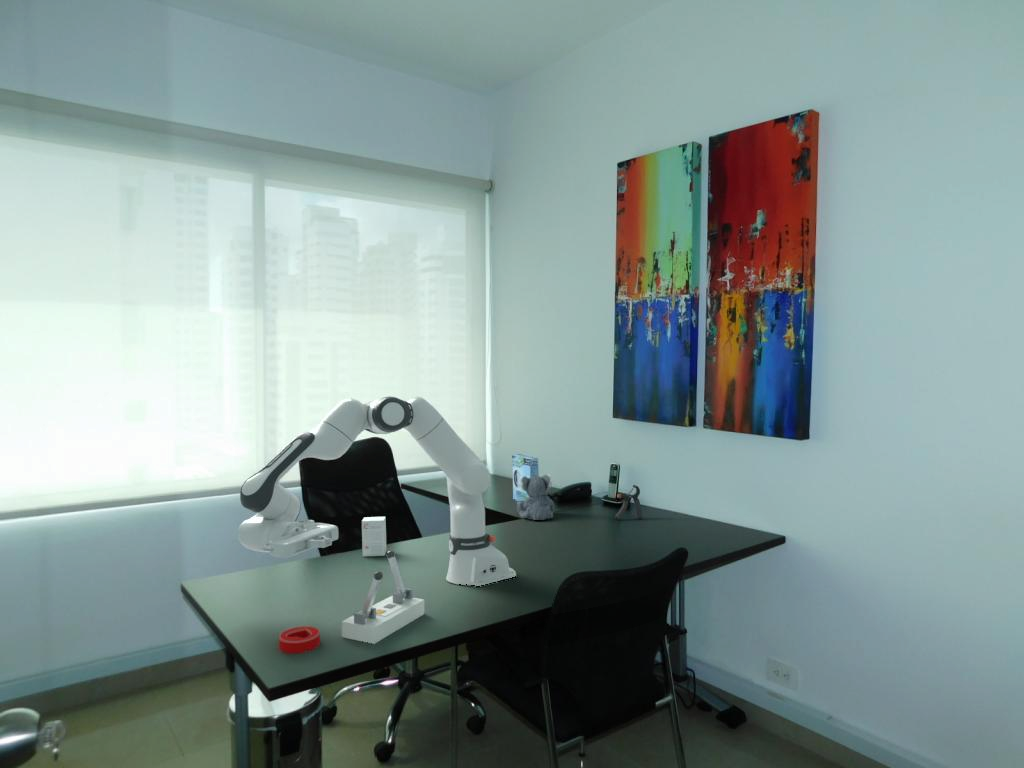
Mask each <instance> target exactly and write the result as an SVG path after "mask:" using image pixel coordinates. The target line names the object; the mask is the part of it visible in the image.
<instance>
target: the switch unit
mask: <svg viewBox="0 0 1024 768" xmlns="http://www.w3.org/2000/svg"><path fill="white" fill-rule="evenodd" d="M404 588H405V590H407V591H408V592H409V596H408V597H406V598H404V599H403V594H400V593H398V592H393V593H392V595H390V596H389V597H386V598H385V599H382V600H381V601H379V602H377V603H375V604H373V605H372V608H371V611H372V615H371V616H370V617H368V618H366V619H365V614H363V613H360V612H362V611H363V610H361V611H359V612H358V611H355V612H354V613H353V615H351V616H349V617H347V618H346V619H344V620H342V621H341V637H342V638H345V639H349V640H353V641H359V642H362V641H363V643H367V642H368V643H367V644H371V643H372V645H375V644H377V643H378V642H380V641H382V640H383V639H385V638H386V637H389V636H390V635H392V634H393V633H395V632H397V631H398V630H401V629H402V628H403V627H405V626H407V625H409V624H410V623H411V622H414V621H416V620H417V619H418V618H420V617H422V616H424V615H425V599H424V598H423V599H422V598H419V597H418V598H417V597H413V588H409V587H408V588H407V587H404Z"/></svg>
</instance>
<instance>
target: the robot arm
mask: <svg viewBox="0 0 1024 768" xmlns="http://www.w3.org/2000/svg"><path fill="white" fill-rule="evenodd" d="M401 429H405V430H406V431H407V432H408V433H409V434H410V436H412V438H413V439H414V440H415V441H416V443H417V444H418V445H419V446H420V447H421V448H422V450H423V451H424V452H425V453H426V455H428V456H429V458H430V459H431V460H432V461H433V463H435V465H436V466H438V467H439V469H441V471H442V472H443V473H444V474H445V477H446V486H447V487H446V488H447V496H448V503H449V511H450V512H449V513H450V518H449V519H450V534H449V535H448V536H449V538H448V539H449V541H448V550H449V553H450V555H449V563H448V570H447V574H446V577H445V580H446V581H447V582H448V583H452V584H454V585H459V584H461V585H462V586H471V585H475V586H474V587H476V586H480V587H482V586H481V585H484V586H486V585H485V584H488V585H490V584H489V583H492V582H496V583H498V582H497V581H500V580H503V579H508V578H512V577H515V576H516V577H517V572H516V570H514V569H513V568H511V567H510V565H509V564H510V563H509V560H508V557H507V556H506V555H505V554H504V553H503V552H502V551H500V550H499V549H498V548H497V547H496V546H494V545H492V544H491V543H495V542H497V537H496V536H494V535H492V534H488V533H487V532H486V509H485V508H486V507H485V504H484V499H483V494H482V493H484V492H485V491H486V490H487V489H488V488H489V487H490V484H491V479H492V478H491V473H490V471H489V468H488V467H487V465H486V464H485V463H484V462H483V461H482V460H481V459H480V457H478V456H477V454H476V453H475V452H474V451H473V450H472V449H471V448H470V446H469V445H467V444H466V443H465V441H464V440H463V439H462V438H461V437H460V436H459V435H458V434H457V433H456V432H455V430H454V429H453V427H452V426H451V425H450V424H449V423H448V422H447V420H445V418H444V417H443V416H442V415H441V413H440V412H439V411H438V410H437V408H435V407H434V406H433V405H432V404H431V403H430V402H428V401H427V400H426V399H425V398H423V397H421V396H413V397H411V398H408V399H407V400H403V399H400V398H398V397H395V396H382V397H378V398H375V399H373V400H371V401H369V402H367V403H365V404H363V403H362V402H361V401H360V400H358V399H355V398H349V397H346V398H344V399H342V400H341V401H340V402H339V403H337V404H336V405H335V406H334V407H333V408H332V409H331V410H330V411H329V412H328V413H327V415H325V417H324V418H323V419H322V420H321V421H320V423H319V424H318V425H317V426H315V428H313V429H311V430H310V431H305V432H301V433H300V434H298V435H297V436H295V437H294V438H293V439H292V440H291V441H290V442H289V443H287V444H286V445H285V446H284V447H283V448H282V449H280V451H278V453H277V454H276V455H274V457H272V458H271V460H269V461H268V462H267V463H266V464H265V465H264V466H263V467H261V469H260V470H258V471H257V472H256V473H254V474H253V475H250V477H248V478H247V479H246V480H245V481H244V482H243V484H241V485H242V486H241V487H240V493H239V497H240V498H239V499H240V504H241V506H242V507H244V508H245V509H247V510H249V511H251V512H254V513H255V515H253V516H252V517H249V518H248V519H245V520H243V521H242V522H241V524H239V525H238V526H239V527H238V529H237V535H238V536H237V537H238V539H239V542H240V544H241V545H242V546H243V547H245V548H246V549H248V550H251V551H256V552H259V553H260V552H261V553H269V555H271V556H273V557H275V558H276V557H277V558H281V559H282V558H283V559H287V558H291V557H294V556H296V555H299V554H302V553H304V552H307V551H309V550H312V549H317V548H322V549H324V548H327V547H329V546H332V544H333V542H334V541H337V540H338V539H339V527H338V526H337V525H335V524H330V523H324V522H315V520H313V519H305V520H300V521H297V520H298V518H299V515H300V514H301V510H302V503H301V499H300V498H299V497H298V496H297V495H295V494H294V493H292V492H291V491H290V490H289V489H287V488H285V487H284V486H282V485H281V484H280V480H282V479H283V477H284V476H286V474H288V472H290V471H291V469H292V468H293V467H294V466H295V465H297V464H298V463H299V462H300V461H301V460H303V459H304V460H305V459H307V458H314V459H319V460H323V461H331V460H337V459H339V458H341V457H342V456H343V455H344V454H346V453H347V451H348V450H349V448H351V447H352V444H354V442H355V440H357V438H358V436H359V435H360V434H361V433H362V432H364V431H366V432H369V433H372V434H376V435H387V434H391V433H395V432H398V431H400V430H401ZM466 584H467V585H466ZM492 584H493V583H492Z"/></svg>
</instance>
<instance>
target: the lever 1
mask: <svg viewBox="0 0 1024 768" xmlns="http://www.w3.org/2000/svg"><path fill="white" fill-rule="evenodd" d="M383 577H384V574H383V573H382V571H379V570H378V571H375V572H374V574H373V579H372V581H371V585H370V588H369V591H368V593H367V596H366V599H365V603H364V605H363V608H362V610H361V611H362V612H361V611H359V612H360V613H363V614H365V619H366V618H368V617H370V616H371V615H372V611H371V608H372V606H373V605H374V603H375V599H376V596H377V594H378V591H379V587H380V584H381V581H382V580H383Z"/></svg>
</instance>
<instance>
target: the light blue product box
mask: <svg viewBox="0 0 1024 768" xmlns="http://www.w3.org/2000/svg"><path fill="white" fill-rule="evenodd" d="M511 458H512V461H511V463H512V465H511V466H512V499H513V500H514V499H515V500H514V501H516V502H518V501H519V500H523V501H525V499H526V498H527V497H529V496H528V495H527V492H526V491H523V489H522V488H521V487H520V481H519V478H520V477H522V476H523V477H524V476H525V477H527V478H530V477H532V476H539V475H540V474H539V471H540V470H539V458H537V457H533V456H529V455H524V454H520V453H519V454H512V455H511Z"/></svg>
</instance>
